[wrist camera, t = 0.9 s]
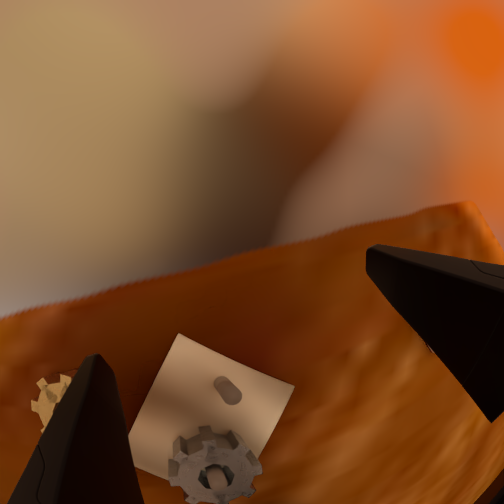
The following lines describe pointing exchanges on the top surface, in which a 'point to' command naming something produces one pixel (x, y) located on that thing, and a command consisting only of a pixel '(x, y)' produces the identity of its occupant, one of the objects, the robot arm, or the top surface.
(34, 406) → the brass gear
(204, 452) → the grey gear
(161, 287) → the top surface
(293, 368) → the top surface
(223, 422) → the birch gear board
